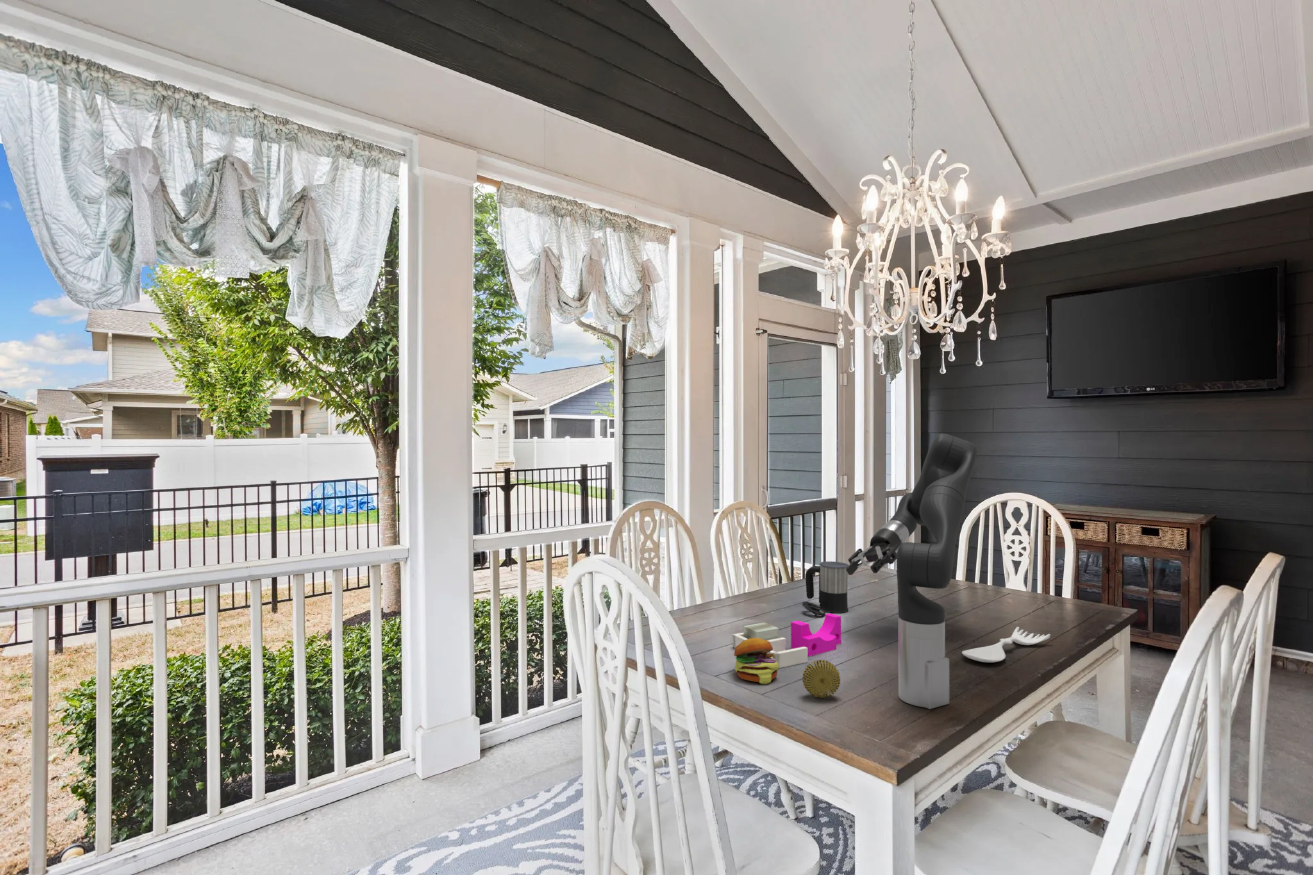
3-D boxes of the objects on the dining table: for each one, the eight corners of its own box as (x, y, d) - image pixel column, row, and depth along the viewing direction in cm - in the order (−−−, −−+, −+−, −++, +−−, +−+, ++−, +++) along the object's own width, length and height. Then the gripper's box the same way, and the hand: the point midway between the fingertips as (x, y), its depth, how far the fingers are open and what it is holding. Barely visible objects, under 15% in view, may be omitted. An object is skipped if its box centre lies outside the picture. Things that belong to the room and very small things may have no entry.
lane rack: (807, 661, 163) (807, 647, 163) (775, 668, 158) (775, 654, 158) (763, 641, 179) (763, 628, 178) (732, 647, 174) (732, 634, 174)
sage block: (779, 651, 171) (778, 628, 171) (757, 655, 168) (757, 632, 168) (764, 644, 177) (764, 622, 177) (743, 648, 173) (743, 626, 173)
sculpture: (837, 693, 143) (837, 657, 143) (842, 701, 139) (842, 663, 139) (800, 693, 143) (800, 656, 143) (804, 700, 139) (804, 663, 139)
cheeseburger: (746, 687, 146) (741, 641, 148) (728, 682, 156) (723, 638, 158) (787, 681, 149) (781, 636, 151) (767, 677, 159) (762, 634, 161)
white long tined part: (1052, 645, 175) (1051, 632, 175) (990, 671, 157) (990, 656, 157) (1017, 637, 183) (1017, 624, 183) (954, 660, 164) (954, 647, 164)
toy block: (808, 657, 167) (808, 627, 167) (791, 650, 172) (790, 622, 172) (848, 646, 175) (848, 618, 175) (830, 640, 180) (830, 613, 180)
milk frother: (848, 607, 214) (848, 561, 214) (849, 620, 199) (849, 571, 199) (804, 604, 218) (804, 559, 218) (801, 617, 203) (801, 569, 203)
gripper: (864, 530, 192) (834, 561, 183) (904, 524, 180) (874, 557, 171) (876, 552, 192) (847, 584, 183) (917, 547, 181) (888, 581, 171)
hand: (860, 571), depth 177 cm, fingers open, 8 cm apart
